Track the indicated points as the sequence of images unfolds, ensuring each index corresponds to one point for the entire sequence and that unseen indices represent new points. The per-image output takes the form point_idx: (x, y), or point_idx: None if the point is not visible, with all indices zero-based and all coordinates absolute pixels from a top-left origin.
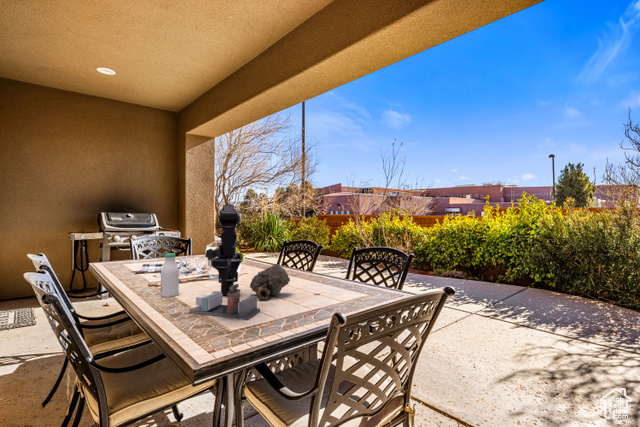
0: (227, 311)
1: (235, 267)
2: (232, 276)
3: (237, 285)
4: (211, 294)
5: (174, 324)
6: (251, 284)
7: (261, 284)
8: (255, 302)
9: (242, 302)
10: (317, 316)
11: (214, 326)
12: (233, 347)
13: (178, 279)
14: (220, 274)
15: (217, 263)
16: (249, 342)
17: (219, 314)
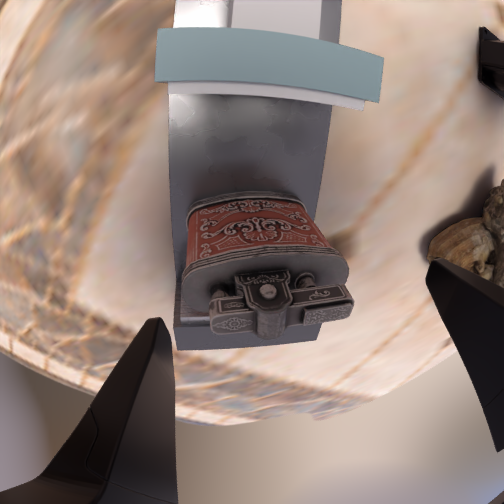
0: (187, 214)
1: (489, 383)
2: (439, 286)
3: (320, 319)
4: (292, 44)
5: (18, 48)
6: None
7: (498, 252)
8: None
9: (180, 339)
10: (274, 409)
11: (60, 226)
12: (18, 343)
13: None
14: (87, 432)
15: None
16: (54, 361)
17: (170, 168)
